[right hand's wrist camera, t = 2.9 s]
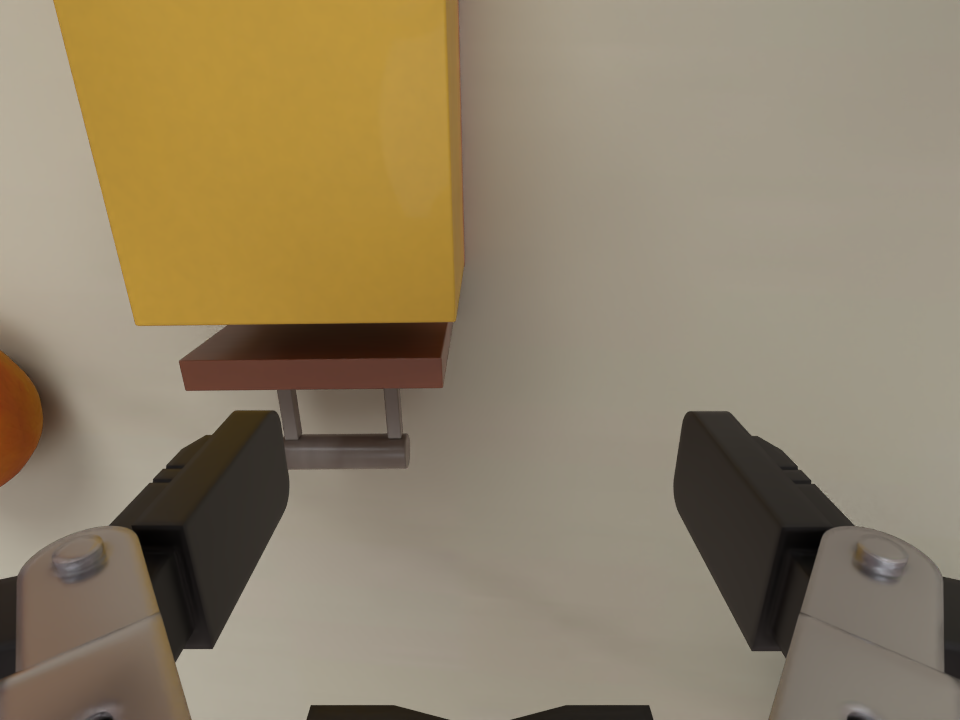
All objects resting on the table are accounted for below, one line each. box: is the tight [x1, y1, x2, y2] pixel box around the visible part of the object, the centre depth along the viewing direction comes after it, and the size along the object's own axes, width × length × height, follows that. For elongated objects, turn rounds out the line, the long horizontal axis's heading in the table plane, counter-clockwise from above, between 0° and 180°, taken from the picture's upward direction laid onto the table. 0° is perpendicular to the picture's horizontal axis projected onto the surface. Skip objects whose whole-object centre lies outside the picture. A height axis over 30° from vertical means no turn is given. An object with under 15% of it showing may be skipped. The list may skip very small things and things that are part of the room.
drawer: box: [179, 322, 453, 470], centre depth 21 cm, size 24×9×7 cm, turn 1°
